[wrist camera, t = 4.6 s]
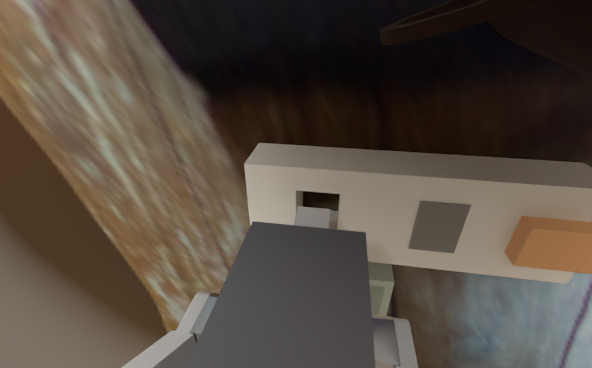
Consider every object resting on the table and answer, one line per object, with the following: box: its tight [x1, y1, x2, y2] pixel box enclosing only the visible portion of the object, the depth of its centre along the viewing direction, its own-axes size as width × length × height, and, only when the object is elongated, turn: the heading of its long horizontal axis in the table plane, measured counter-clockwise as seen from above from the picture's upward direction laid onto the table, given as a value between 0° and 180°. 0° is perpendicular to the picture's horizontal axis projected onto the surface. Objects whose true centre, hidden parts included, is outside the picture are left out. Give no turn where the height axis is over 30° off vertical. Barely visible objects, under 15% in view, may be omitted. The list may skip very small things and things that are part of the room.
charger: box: [186, 206, 376, 368], centre depth 11 cm, size 4×4×9 cm
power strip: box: [244, 143, 592, 284], centre depth 16 cm, size 6×24×4 cm, turn 90°
